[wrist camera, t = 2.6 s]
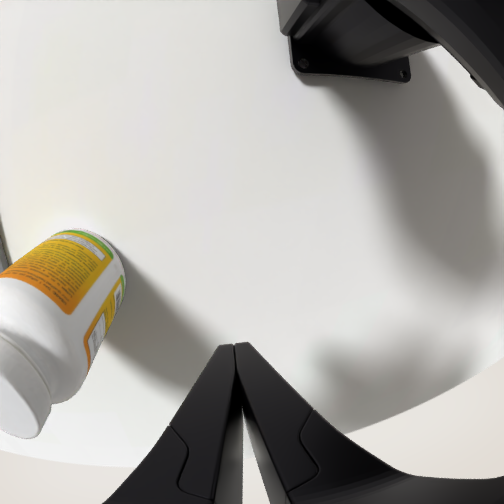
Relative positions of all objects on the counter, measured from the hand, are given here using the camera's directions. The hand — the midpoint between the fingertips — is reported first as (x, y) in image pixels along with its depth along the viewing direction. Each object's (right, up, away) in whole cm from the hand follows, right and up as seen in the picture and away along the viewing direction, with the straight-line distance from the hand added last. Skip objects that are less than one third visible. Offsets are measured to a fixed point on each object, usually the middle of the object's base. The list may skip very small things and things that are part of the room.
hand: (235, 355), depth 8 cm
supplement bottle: (-9, +2, +7) cm, 11 cm away
